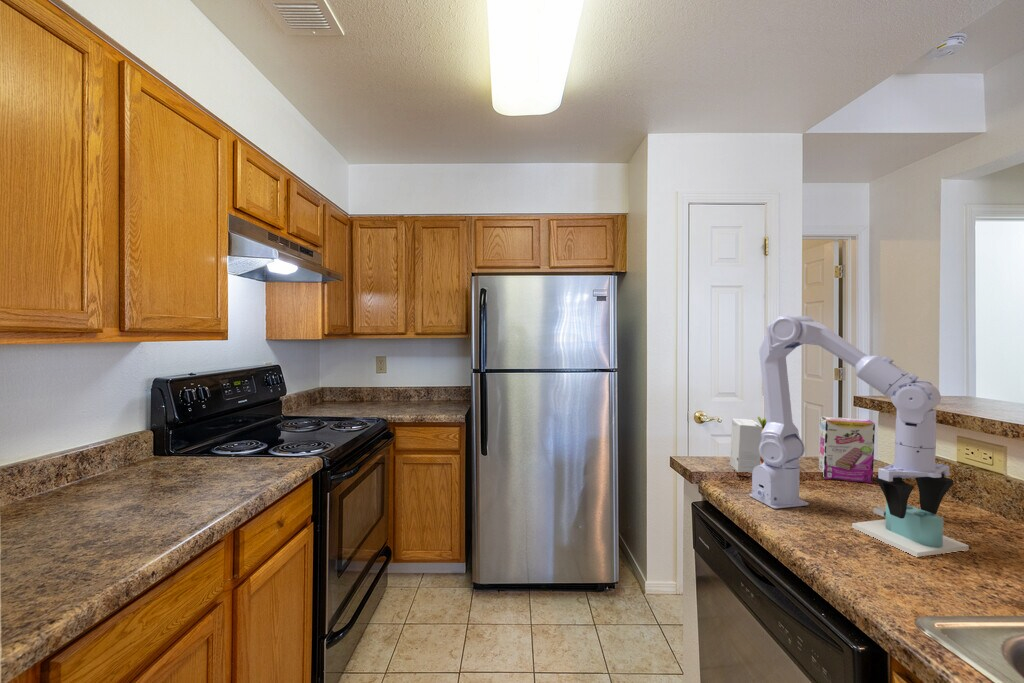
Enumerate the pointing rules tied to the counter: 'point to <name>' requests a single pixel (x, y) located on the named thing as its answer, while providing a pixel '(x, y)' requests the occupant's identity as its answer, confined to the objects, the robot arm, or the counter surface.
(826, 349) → the robot arm
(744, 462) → the skincare box
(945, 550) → the tile
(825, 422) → the candy bar box
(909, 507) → the plug block
